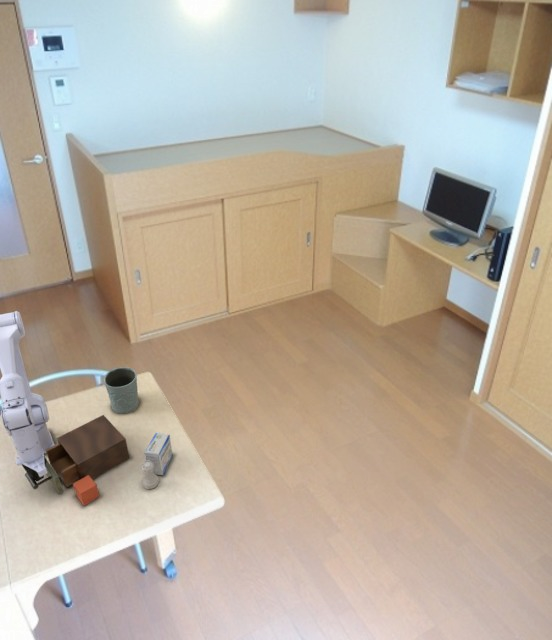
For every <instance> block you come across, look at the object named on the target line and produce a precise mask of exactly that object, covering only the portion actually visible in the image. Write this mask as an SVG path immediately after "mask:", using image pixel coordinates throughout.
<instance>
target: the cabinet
mask: <svg viewBox="0 0 552 640" xmlns="http://www.w3.org/2000/svg"><path fill="white" fill-rule="evenodd" d="M56 440H57V444H58V443H60V444H61V445H62V447H63V448H64V449H65V450H66V452H67V453H68V454H69V456H70V457H71V458H72V459H73V461H74V462H75V463H76V465H77V467H78V471H79V474H80V477H81V479H82V478H84V477H86V476H88V475H89V476H90V477H91V479H92V480H94V479H96V478H97V477H99V476H101V475H102V474H105V473H106V472H108V471H110V470H111V469H113V468H115V467H116V466H119V465H120V464H122V463H123V462H125V461H127V460H129V459H130V453H129V448H128V443H127V439H126V437H125V436H124V435H123V434H122V433H121V432H120V431H119V430H118V428H117V427H116V426H114V424H112V422H111V421H110V420H109V419H108V418H107V417H106V416H105V414H102V415H100V416H98V417H96V418H94V419H92V420H89V421H88V422H86V423H83V424H82V425H80V426H78V427H76V428H73V429H72V430H70V431H68V432H66V433H65V434H62V435H60V436H58V437H56ZM81 479H80V480H81Z"/></svg>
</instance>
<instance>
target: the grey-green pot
mask: <svg viewBox="0 0 552 640" xmlns="http://www.w3.org/2000/svg"><path fill="white" fill-rule="evenodd" d="M137 377H138V376H137V372H136V370H134V369H133V368H132V367H128V366H121V367H115V368H112V369H110V370H109V371H108V372H107V373H106V374H105V375H104V377H103V384H104V386H105V389H106V391H107V394H108V398H109V401H110V405H111V409H112V411H113V412H115V413H117V414H120V415H121V414H123V415H124V414H128V413H129V414H130V413H131V412H134V411H135V410H136V409H137V408H138V406H139V404H140V403H139V401H140V400H139V392H138V378H137Z"/></svg>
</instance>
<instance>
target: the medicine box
mask: <svg viewBox="0 0 552 640" xmlns="http://www.w3.org/2000/svg"><path fill="white" fill-rule="evenodd" d="M144 457H145V460H146V461H148V460H150V461H151V462H152V463H153V464H154V466H153V469H154V470H153V472H154V474H155V475H156V476H164V474H165V472H166V470H167V468H168V465H169V463H170V461H171V460H172V458H173V449H172V442H171V435H170V434H167V433H161V432H155V433H154V435H153V437H152V438H151V441H150V442H149V444H148V446H147V448H146V450H145V451H144Z"/></svg>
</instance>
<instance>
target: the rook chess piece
mask: <svg viewBox="0 0 552 640" xmlns="http://www.w3.org/2000/svg"><path fill="white" fill-rule="evenodd" d="M153 466H154V464H153V463H152V462H151V461H150V460H148V461H146V459H145V460H144V462H142V464H141V466H140V467H141V469H142V472H143V474H144V475H143V477H142V479H141V481H142V482H141V483H142V487H143V488H144V489H147V490H152V489H153V490H154V488H156V487H157V486H158V485H159V482H160V481H159V476H158V475H157V474H154V472H153V470H154V469H153Z"/></svg>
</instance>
